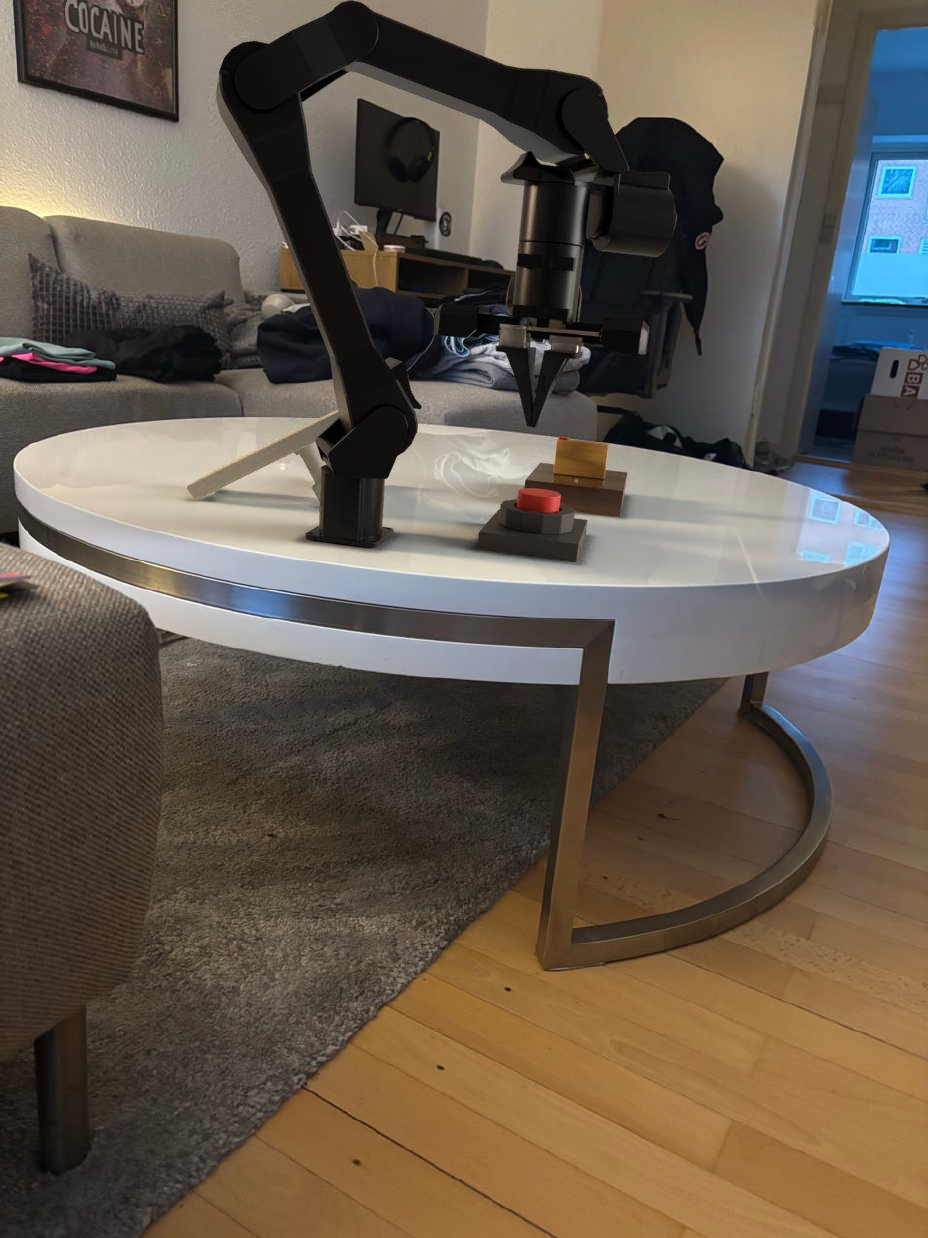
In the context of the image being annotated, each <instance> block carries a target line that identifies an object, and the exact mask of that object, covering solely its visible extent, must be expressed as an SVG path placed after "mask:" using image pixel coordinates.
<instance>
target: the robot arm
mask: <svg viewBox="0 0 928 1238" xmlns="http://www.w3.org/2000/svg"><path fill="white" fill-rule="evenodd" d="M350 72H351V73H356V74H359V75H362V76H364V77H367V78H370V79H373V80H375V81H378V82H380V83H383V84H386V85H388V86H391V87H394V88H395V89H399V90H401V91H404V92H406V93H409V94H411V95H414V96H417V97H419V98H422V99H425V100H427V101H430V102H433V103H436V104H439V105H441V106H444V107H446V108H449V109H451V110H454V111H457V112H459V113H462V114H464V115H468V116H470V117H472V118H475V119H477V120H480V121H482V122H483V123H486V124H487V125H489V126H490V127H492V128H493V129H495V130H496V131H497V132H498V133H499V134H500V135H501V136H503V137H504V138H505V139H506V140H507V141H508V142H510V143H511V144H512V145H514V146H516V147H517V148H519V149H520V150H521V151H524V153H521V154H520V155H519V157H518V158H517V160H516V161H515V162H514V164H513V165H511V166H510V168H508V169H507V170H506V171H504V172H503V173H501V175H500V177H499V179H500V182H501V183H502V184H507V185H514V186H515V185H516V186H523V193H522V202H521V203H522V204H521V213H520V224H519V235H518V244H517V245H518V246H517V254H516V255H517V256H516V265H515V275H512V276H510V279H509V283H508V287H507V291H506V297H505V298H506V299H505V308H506V310H507V313H508V315H503V314H501V315H500V314H490V307H488V306H487V307H486V306H478V305H470V304H469V305H468V304H456V303H444V302H442V303H441V304H440V305H438V307H437V308H436V310H435V314H434V320H433V321H434V322H433V334H432V335H433V336H439V337H450V338H460V339H469V338H481V337H482V336H483V335H493V336H497V339H498V344H496V345H495V352H497V353H504V354H505V356H506V358H507V361H508V363H509V366H510V368H511V372H512V375H513V377H514V381H515V383H516V386H517V391H518V394H519V398H520V403H521V407H522V412H523V416H524V421H525V424H526V427H527V428H534V429H536V428H537V427H538V426H539V425H538V424H539V422H540V420H541V418H542V415H543V413H544V411H545V408H546V406H547V403H548V401H549V399H550V397H551V395H552V392H553V390H554V387H555V386H556V383H557V381H558V380H559V378H560V376H561V374H562V373H563V371H564V370H565V368H566V366H567V365H568V363H569V362H570V360H578V359H579V360H580V359H582V357H583V351H582V348H583V347H584V344H590V345H602V346H603V347H604V348H605V350H606V351H607V352H609V353H618V354H619V353H620V354H631V355H641V356H642V355H643V356H645V355H646V354H647V349H648V343H649V336H650V335H649V334H650V327H649V325H648V324H647V323H646V322H645V320H641V319H640V320H639V319H629V318H628V319H627V318H617V317H616V318H615V317H605V316H604V317H603V318H602V319H603V320H602V323H592V322H591V323H590V322H582V321H581V322H580V316H581V308H582V299H583V293H582V289H581V278H582V270H583V269H582V268H583V260H584V251H585V243H586V239H587V240H591V242H592V244H593V247H594V248H595V249H596V250H597V251H600V252H609V253H617V254H618V253H619V254H625V255H634V256H642V257H643V256H644V257H651V258H658V257H659V256H661V255H663V254H664V253H665V252H666V250H667V248H668V247H669V246H670V243H671V241H672V239H673V235H674V233H675V229H676V225H677V219H678V212H677V211H676V203H675V196H674V194H673V192H672V191H671V189H670V187H669V186H670V181H671V175H670V173H669V172H664V171H651V172H645V171H639V170H633V169H632V170H631V169H630V166H629V163H628V160H627V159H626V156H625V154H624V152H623V150H622V147H621V145H620V143H619V141H618V138H617V136H616V134H615V132H614V130H613V127H612V125H611V123H610V121H609V117H610V116H609V107H608V103H607V100H606V98H605V95H604V89H603V88H602V87H601V85H600V84H599V83H598V82H596V81H595V80H593V79H592V78H590V77H589V76H585V75H581V74H577V73H571V72H567V71H566V72H565V71H560V70H556V69H549V68H532V67H531V68H527V67H524V68H523V67H517V66H513V65H507V64H504V63H501V62H499V61H496V60H494V59H492V58H489V57H486V56H484V55H482V54H480V53H477V52H474V51H473V50H470V49H468V48H465V47H463V46H459V45H457V44H455V43H452V42H450V41H447V40H445V39H443V38H440V37H437V36H435V35H432V34H430V33H428V32H425V31H423V30H420V29H418V28H415V27H413V26H410V25H408V24H405V23H403V22H401V21H398V20H396V19H393V18H391V17H389V16H386V15H384V14H381V13H378V12H376V11H374V10H373V9H371V8H370V7H369V6H368V5H366V4H364V3H363V2H361V1H358V0H357V1H356V0H345V1H341V2H340V3H338V4H337V5H336V6H334V8H333V9H331V10H330V11H329V12H327V13H326V14H323V15H322V16H319V17H318V18H315V19H313V20H311V21H308V22H307V23H304V24H302V25H300V26H298V27H296V28H293V29H291V30H290V31H288V32H286V33H284V34H283V35H281V36H279V37H277V38H276V39H274V40H273V41H271V42H269V43H267V42H263V41H259V40H258V41H257V40H249V41H242V42H241V43H239V44H237V45H235V46H233V47H232V48H230V49H229V51H228V53H226V55H225V56H224V57H223V60H222V62H221V65H220V67H219V70H218V76H217V77H218V78H217V83H216V90H215V101H216V104H217V109H218V113H219V115H220V118H221V120H222V122H223V123H224V125H225V126H226V128H227V130H228V131H229V133H230V135H231V137H232V138H233V140H234V142H235V144H236V146H237V147H238V149H239V151H240V153H241V154H242V156H243V158H244V160H245V161H246V163H248V165H249V167H250V169H251V170H252V171H253V173H254V175H255V176H256V177H257V179H258V181H259V182H260V183H261V185H262V187H263V188H264V190H265V192H266V195H267V197H268V200H269V201H270V204H271V206H272V209H273V212H274V215H275V217H276V220H277V223H278V226H279V228H280V231H281V233H282V236H283V238H284V241H285V243H286V247H287V248H288V252H289V254H290V256H291V259H292V262H293V264H294V267H295V270H296V272H297V275H298V277H299V280H300V282H301V285H302V289H303V290H304V293H305V296H306V298H307V300H308V303H309V307H310V309H311V311H312V314H313V316H314V319H315V322H316V325H317V327H318V330H319V332H320V335H321V337H322V340H323V343H324V345H325V348H326V350H327V353H328V356H329V361H330V368H331V376H332V383H333V391H334V397H335V402H336V406H337V409H338V411H339V417H338V418H337V419H336V420H335V421H334V422H333V423H332V424H331V425H330V426H328V427H327V428H326V429H325V430H324V431H323V432H322V433H321V434H320V435H319V436H317V437H316V439H315V442H316V445H317V448H318V451H319V454H320V457H321V460H322V461H324V462H325V463H326V464H327V465H324V466H322V467H321V479H320V502H319V511H318V512H319V514H318V525H317V526H315V527H314V528H312V529H310V530H309V531H307V532H305V535H304V538H305V539H306V540H311V541H318V542H325V543H331V544H332V543H333V544H341V545H348V546H349V545H350V546H354V547H355V546H356V547H363V548H376V547H378V546H379V545H381V544H382V543H383V542H385V541H386V540H387V539H389V538H390V537H391V536H393V534H394V528H393V527H388V526H383V523H384V521H383V520H384V505H385V504H384V503H385V486H386V480H387V479H389V477H390V475H391V472H392V470H393V468H394V466H395V463H396V460H397V459H398V456H400V455H402V454H404V453H405V452H406V451H407V450H408V449H409V448H410V447H411V446H412V444H413V442H414V441H415V437H416V436H417V433H418V431H419V430H418V429H419V422H418V417H417V413H416V411H415V410H421V409H422V408H423V406H422V405H421V403H420V402H419V401H418V400H417V399H416V397H415V395H414V393H413V391H412V387H411V382H410V376H409V372H408V368H407V365H406V362H405V361H402V360H399V359H396V358H393V357H388V358H384V357H383V354H382V353H381V352H380V351H379V349H378V348H377V347H378V346H376V344H375V342H374V339H373V337H372V334H371V331H370V328H369V325H368V322H367V319H366V317H365V314H364V311H363V309H362V306H361V303H360V300H359V298H358V294H357V292H356V290H355V286H354V284H353V281H352V278H351V276H350V272H349V270H348V267H347V264H346V261H345V259H344V256H343V253H342V251H341V247H340V245H339V242H338V239H337V237H336V233H335V231H334V229H333V225H332V223H331V220H330V218H329V214H328V212H327V210H326V209H327V208H326V206H325V204H324V201H323V198H322V194H321V192H320V190H319V187H318V184H317V181H316V178H315V175H314V173H313V172H314V171H313V167H312V161H311V152H310V146H309V137H308V129H307V121H306V117H305V112H304V106H303V103H304V102H306V101H307V100H308V99H310V98H312V97H314V96H315V95H316V94H318V93H319V92H321V91H322V90H323V89H325V88H326V87H328V86H329V85H331V84H333V83H334V82H335V81H337V80H339V79H340V78H342V77H344V76H345V75H347V74H348V73H350ZM586 155H587V157H588V158H587V157H586ZM541 162H542V163H541ZM544 163H545V164H544ZM546 163H548V164H546ZM551 164H552V165H551ZM553 164H554V165H553ZM521 322H525V325H524V324H523V325H522V324H521ZM534 339H537V340H548V344H550V349H544V350H543V354H542V361H541V365H540V369H539V376H538V380H537V385H536V382H535V381H536V380H535V379H536V376H535V372H536V370H535V369H536V367H535V366H536V355H537V347H535V346H531V343H533V342H534ZM535 385H536V387H535ZM535 389H536V390H535Z"/></svg>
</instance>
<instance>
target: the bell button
mask: <svg viewBox="0 0 928 1238" xmlns="http://www.w3.org/2000/svg"><path fill="white" fill-rule="evenodd" d="M560 498H561V494H560V493H558V492H555V491H551V490H545V489H536V488H525V489H524V488H521V489H518V491H517V498H516V499H517V508H520V509H524V510H528V511H537V512H558V511H559V506H560Z"/></svg>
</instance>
